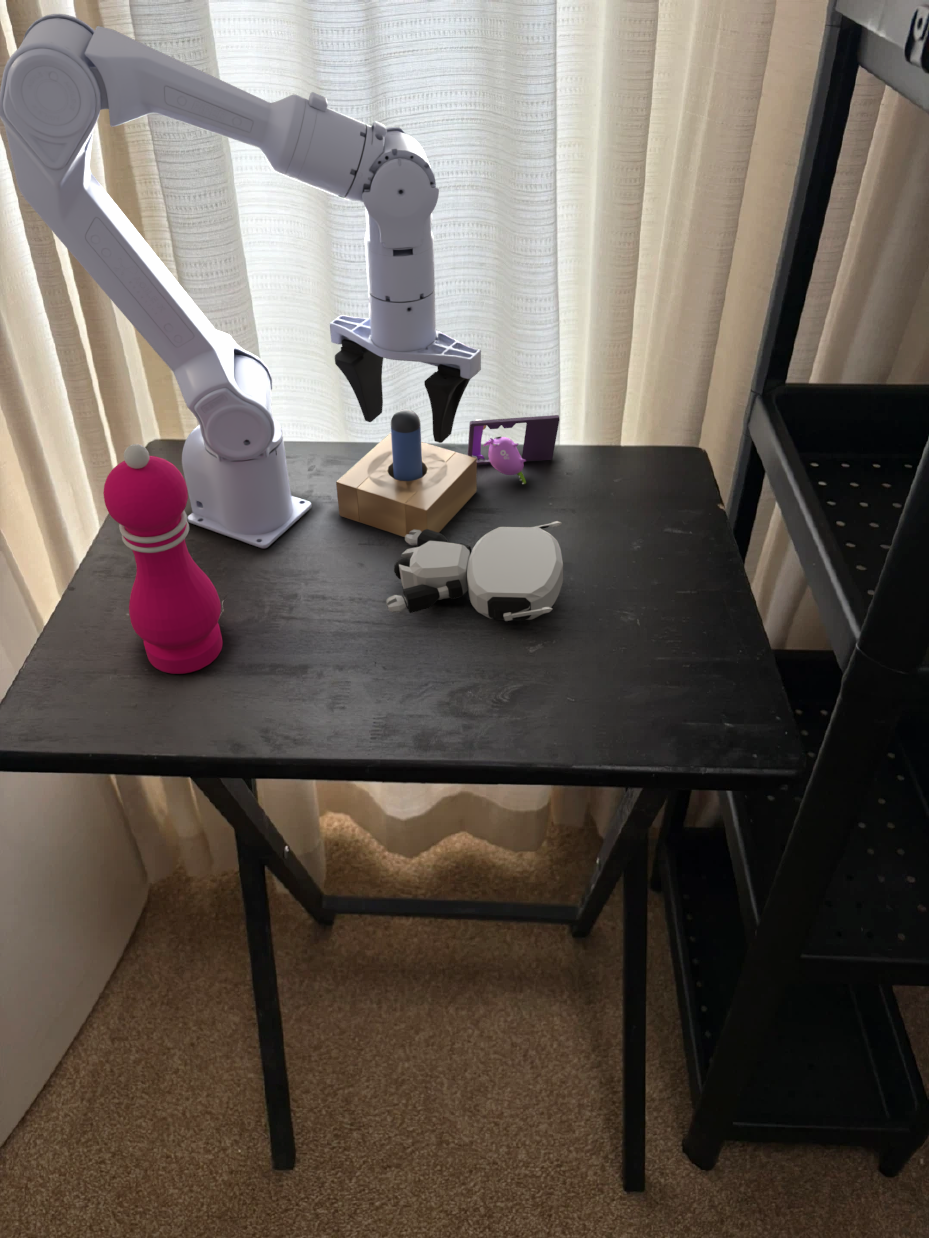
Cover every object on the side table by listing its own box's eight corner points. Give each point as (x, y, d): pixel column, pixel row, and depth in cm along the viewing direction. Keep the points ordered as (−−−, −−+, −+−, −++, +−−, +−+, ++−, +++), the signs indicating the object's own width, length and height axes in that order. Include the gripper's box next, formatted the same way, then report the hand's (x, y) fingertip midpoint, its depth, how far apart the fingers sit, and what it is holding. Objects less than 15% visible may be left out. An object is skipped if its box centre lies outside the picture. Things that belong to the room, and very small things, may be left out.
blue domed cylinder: (390, 507, 102) (384, 415, 95) (402, 492, 104) (397, 401, 97) (416, 513, 101) (412, 421, 94) (427, 498, 103) (424, 406, 96)
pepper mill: (228, 615, 90) (186, 415, 77) (229, 673, 85) (184, 468, 72) (144, 625, 89) (86, 424, 76) (139, 684, 84) (76, 479, 71)
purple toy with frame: (558, 409, 103) (468, 415, 102) (566, 450, 101) (475, 457, 100) (550, 451, 109) (466, 457, 108) (558, 491, 107) (472, 497, 106)
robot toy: (385, 638, 89) (559, 644, 87) (378, 598, 86) (558, 603, 84) (409, 551, 98) (567, 554, 96) (403, 512, 95) (567, 515, 93)
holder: (339, 515, 101) (335, 481, 98) (392, 465, 108) (390, 432, 105) (427, 545, 98) (426, 510, 95) (476, 491, 104) (477, 457, 102)
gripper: (498, 288, 88) (495, 426, 97) (355, 255, 93) (365, 389, 102) (458, 320, 83) (459, 463, 92) (310, 284, 89) (325, 422, 98)
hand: (407, 427), depth 97 cm, fingers open, 7 cm apart
